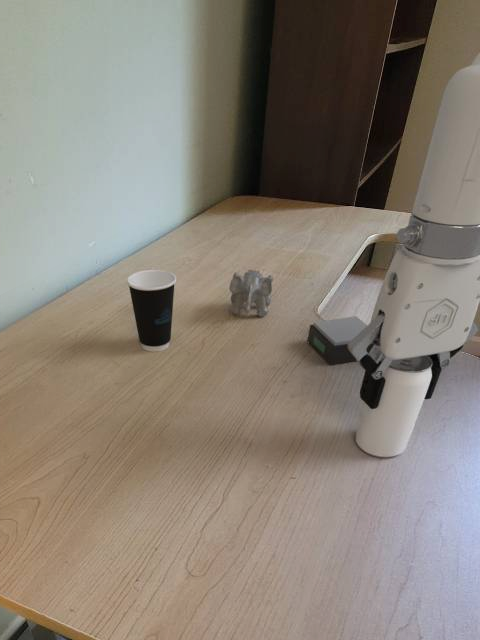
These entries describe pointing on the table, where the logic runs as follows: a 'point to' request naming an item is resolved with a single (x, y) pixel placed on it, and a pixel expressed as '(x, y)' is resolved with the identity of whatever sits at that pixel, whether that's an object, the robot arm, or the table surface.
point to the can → (395, 408)
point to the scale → (335, 338)
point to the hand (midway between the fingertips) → (395, 397)
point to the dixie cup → (153, 307)
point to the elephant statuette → (251, 292)
